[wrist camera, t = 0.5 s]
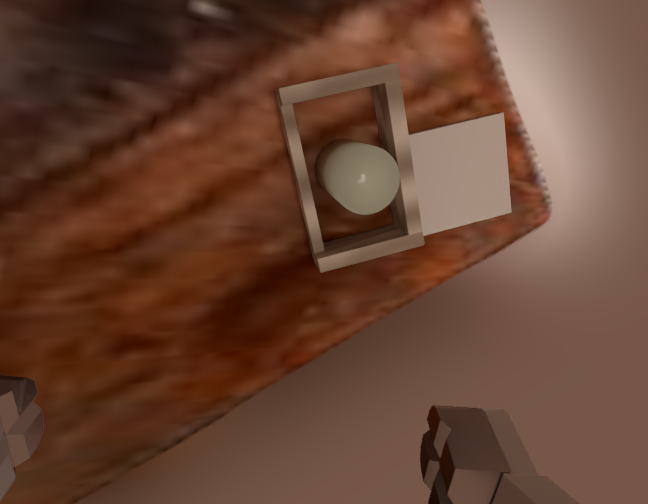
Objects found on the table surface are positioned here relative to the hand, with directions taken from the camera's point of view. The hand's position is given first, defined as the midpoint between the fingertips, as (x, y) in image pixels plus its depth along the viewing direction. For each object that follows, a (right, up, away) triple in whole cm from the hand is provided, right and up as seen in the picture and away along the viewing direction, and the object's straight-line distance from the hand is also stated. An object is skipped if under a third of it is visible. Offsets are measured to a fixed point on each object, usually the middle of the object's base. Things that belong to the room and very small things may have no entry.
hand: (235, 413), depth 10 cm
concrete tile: (+18, +13, +45) cm, 50 cm away
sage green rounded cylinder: (+4, +13, +43) cm, 45 cm away
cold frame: (+4, +13, +43) cm, 45 cm away
